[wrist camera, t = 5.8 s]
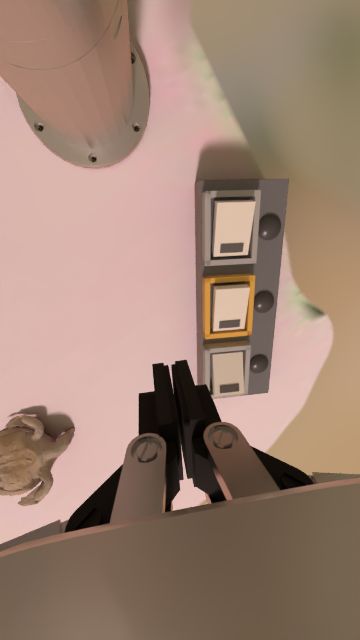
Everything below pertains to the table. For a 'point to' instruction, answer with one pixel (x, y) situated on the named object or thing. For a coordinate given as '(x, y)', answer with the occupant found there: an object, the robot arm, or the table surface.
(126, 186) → the table surface
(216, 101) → the table surface
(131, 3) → the table surface
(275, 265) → the rocker switch panel
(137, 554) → the robot arm
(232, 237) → the rocker
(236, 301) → the rocker middle
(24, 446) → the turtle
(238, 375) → the rocker
